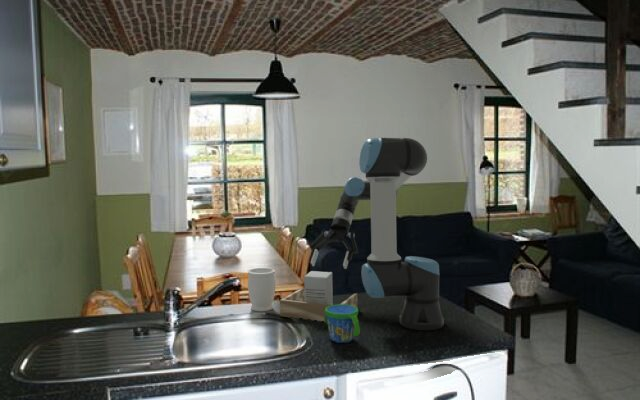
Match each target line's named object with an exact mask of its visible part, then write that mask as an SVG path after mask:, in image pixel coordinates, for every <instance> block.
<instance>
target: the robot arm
mask: <svg viewBox="0 0 640 400" xmlns="http://www.w3.org/2000/svg"><path fill="white" fill-rule="evenodd" d="M427 162H428V153H427V150H426V149H425V146H423V145H422V144H421V143H420V142H419V141H418V140H416V139H414V138H409V137H373V138H371V137H370V138H368V139H366V140H365V141H364V143H363V145H362V147H361V149H360V154H359V170H360V172H361V173H363V174H365V180H367V181H363V180H362V178H360V177H357V176H353V177H350V178H349V179H348V180H347V181H346V183H345V185H344V187H343V192H342V193H341V194H340V198H339V202H338V204H337V208H336V211H335V213H334V217H333V220H332V223H331V226H330V229H329V231H328V230H326V229H322V231H321V232H320V234H319V235H318V236H317V237H316V238H315V239H314V240H313V241H312V242H311V243H310V245H309V248H310V250H311V253H310V254H311V255H310V256H311V260H310V264H311V266H312V267H315V265H316V263H317V259H318V255H319V254H320V253H319V251H320V250H322V249H324V247H325V246H327V245H329V244H331V243H343V244H344V246H345V247H346V249H347V250H346V252H345V257H344V259H343V263H342V266H343V269H345V270H347V269H348V265H349V262H351V261H352V259H353V255H354V254H355V255H358V254H359V250H358V247H357V243H356V240H355V238H356V235H355V231H354V230H353V231H352V230H351V232H350V228H351V225H352V223H353V222H352V221H353V219H354V218H353V217H354V215H355V212H356V209H357V206H358V204H359V202H360V201H370V237H371V239H370V241H371V242H370V243H371V246H370V247H371V253H370V254H369V255H368V256H367V257H366V258H367V259H366V263H364V264H362V266H361V281H362V285H363V287H364V289H365V292H366V294H367V295H368V296H369V297H370V298H373V299H376V298H377V299H378V298H381V299H384V298H394V297H396V298H397V297H404V302H403V306H402V309H401V312H400V315H399V324H400V325H401V326H402V327H404V328H407V329H410V330H416V331H435V330H439V329H441V328H443V327H444V326H445V325H444V323H445V322H444V320H445V319H444V316H443V314H442V309H441V305H440V302H439V301H440V264H439V263H438V262H437V261H436V260H434V259H431V258H427V257H424V256H412V255H409V256H405V258H404V261H402V257H401V256H400V255H399V254H398V252H397V251H398V250H397V248H398V247H397V245H398V244H397V243H398V242H397V241H398V240H397V239H398V238H397V198H396V197H397V195H398V189H399V188H400V187H401V186H402V185H403V184H405V182H407V181H408V180H409V179H410V178H411V177H413V176H417V175H419V174H420V173H421V172H422V171H423V170H424V169H425V168H426V165H427ZM347 238H349V239H350V240H351V243H352V247H353V248H352V247H351V245H350V244H349V243H348V241H347Z"/></svg>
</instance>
